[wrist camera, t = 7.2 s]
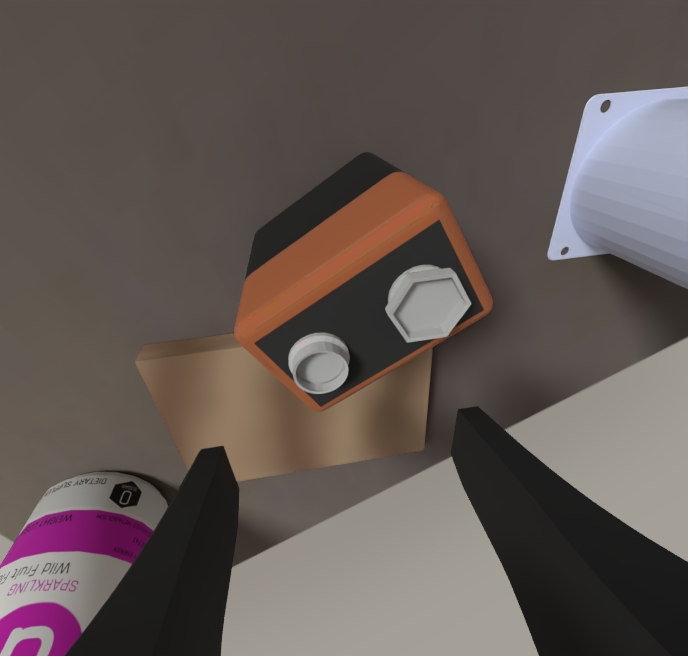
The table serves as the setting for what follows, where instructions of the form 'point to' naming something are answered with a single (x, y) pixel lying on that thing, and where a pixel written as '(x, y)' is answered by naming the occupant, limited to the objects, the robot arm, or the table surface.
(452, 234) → the battery
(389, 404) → the wooden flat block
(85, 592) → the supplement can
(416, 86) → the table surface
